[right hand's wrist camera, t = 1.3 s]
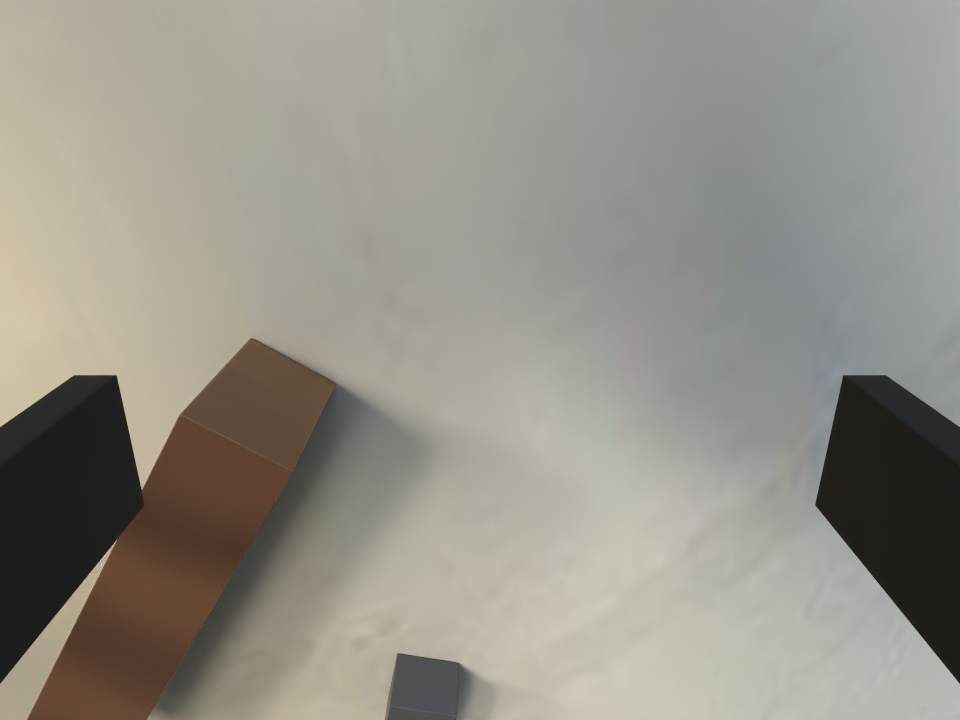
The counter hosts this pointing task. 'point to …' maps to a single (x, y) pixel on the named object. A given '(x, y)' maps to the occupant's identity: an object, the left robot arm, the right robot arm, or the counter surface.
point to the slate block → (423, 689)
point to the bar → (186, 536)
